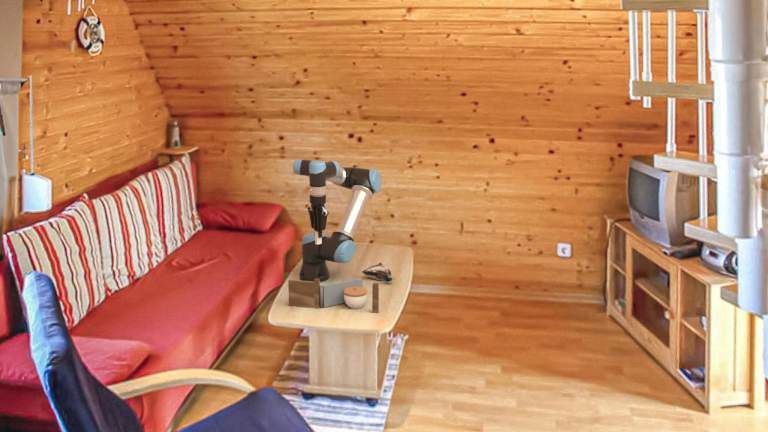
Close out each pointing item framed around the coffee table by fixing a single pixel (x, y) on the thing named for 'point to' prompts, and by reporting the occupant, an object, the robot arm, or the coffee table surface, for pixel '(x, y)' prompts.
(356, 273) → the coffee table surface
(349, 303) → the lidded jar
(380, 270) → the decorative duck model
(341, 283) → the door
